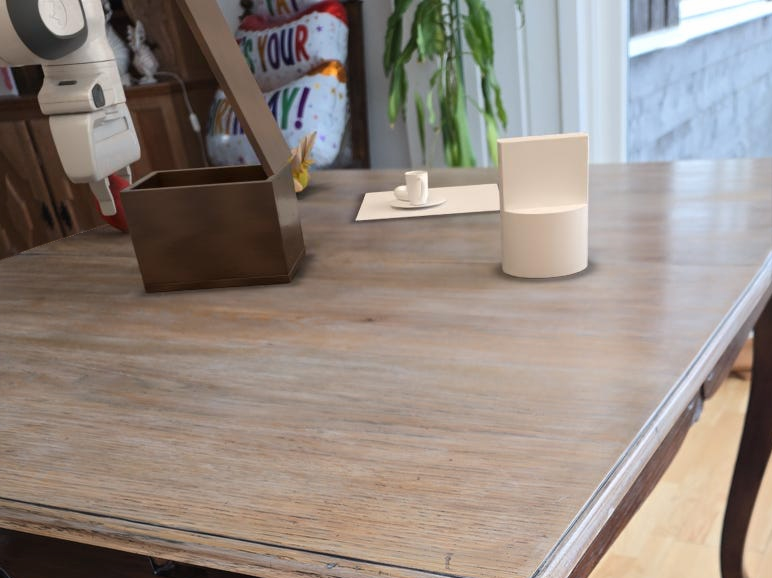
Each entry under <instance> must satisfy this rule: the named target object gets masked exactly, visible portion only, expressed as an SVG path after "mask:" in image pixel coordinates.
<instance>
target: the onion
mask: <svg viewBox="0 0 772 578" xmlns="http://www.w3.org/2000/svg"><path fill="white" fill-rule="evenodd" d="M107 177H108V180H109V184H110V185H109V189H110V191H111V194H112V196H113V198H115V199H116V202H117V207H118V212H117V213H116V214H115V215H109V216H105V215H103V213H102V211H101V208H100V204H99V201H98V200H97V198H96V197H95V195H94V194H93V201H94V207H95V209H96V212H97V214H98V216H99V217H100V218H101V219H102V220H103V221H104V222H105V223H107V224H108V225H109V226H110V227H112V228H113V229H116V230H118V231H119V232H121V233H129V229H128V225H127V221H126V218H125V214H124V210H123V207H122V203H121V199H120V196H119V192H120V191H122V190H123V189H125V188H127V187H128V186H130V185H131V184H130V183H128V182H127V181H126V180H125V179H123V178H121V177H119V176H117V175H116V174H115V173H113V174H111V175H109V176H107Z"/></svg>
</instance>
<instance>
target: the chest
mask: <svg viewBox="0 0 772 578" xmlns="http://www.w3.org/2000/svg"><path fill="white" fill-rule="evenodd" d="M119 196H120V199H121V203H122V207H123V210H124V214H125V218H126V221H127V225H128V229H129V231H128V233H129V235H130V240H131V243H132V247H133V251H134V254H135V258H136V262H137V265H138V269H139V272H140V276H141V280H142V284H143V288H144V292H145V293H160V292H175V291H188V290H189V291H191V290H204V289H218V288H234V287H245V286H246V287H247V286H260V285H261V286H263V285H275V284H290V283H291V282H292V280H293V278H294V276H295V275H296V273H297V271H298V270H299V267H300V265H301V264H302V262H303V260H304V259H305V257H306V255H307V251H306V245H305V240H304V234H303V228H302V223H301V221H302V220H301V216H300V209H299V204H298V197H297V193H296V191H295V185H294V179H293V173H292V167H291V162H286V163H285V164H284V165H283V166H282V167H281V168H280V169H279V170H278V171H277V172H276V173H275V174H274V175H272V176H270V177H267V175H266V173H265V171H264V169H263V167H262V165H261V164H260V163H252V164H239V165H223V166H209V167H197V168H183V169H181V168H180V169H171V170H170V169H169V170H167V169H166V170H154V171H151V172H150V173H148V174H146V175H145V176H143V177H141V178H140V179H138V180H136V181H134V183H133V182H132V185H130V186H128V187H127V188H125V189H123V190H122V191H120V192H119Z"/></svg>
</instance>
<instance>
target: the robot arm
mask: <svg viewBox="0 0 772 578" xmlns="http://www.w3.org/2000/svg"><path fill="white" fill-rule="evenodd" d="M33 65H41V68H42V72H43V75H44V77H43V82H42V86H41V87H40V90H39V92H38V94H37V101H38V104H39V107H40V110H41V113H42V114H43V115H46V116H49V118H48V120H49V121H48V122H49V123H48V124H49V128H50V133H51V136H52V139H53V143H54V145H55V148H56V151H57V154H58V157H59V159H60V162H61V165H62V168H63V170H64V172H65V174H66V176H67V177H68V179H69V180H70V181H71V183H73V184H75V185H77V184H79V185H80V184H88V185H89V188H90V190H91V192H92V193H93V196H94V195H95V197H96V198H97V200H98V201H99V204H100V208H101V211H102V213H103V215H105V216H109V215H115V214H116V213H117V212H118V207H117V202H116V199H115V198H113V196H112V194H111V191H110V189H109V185H110V184H109V180H108V177H107V176H109V175H111V174H113V173H115V174H116V175H117V176H119V177H121V178H123V179H125V180H126V181H127V182H128V183H130V184H131V185H132V184H133V182H132V171H131V167H130V165H132V164H134V163H135V162H138V161H139V160H141V156H142V155H141V147H140V142H139V139H138V136H137V131H136V129H135V125H134V122H133V118H132V116H131V113H130V110H129V108H128V106H127V103H126V102H127V98H126V95H125V91H124V87H123V83H122V78H121V74H120V70H119V67H118V63H117V59H116V56H115V53H114V51H113V49H112V47H111V45H110V43H109V40H108V37H107V32H106V15H105V12H104V8H103V5H102V0H0V69H1V68H2V69H4V68H16V67H18V68H19V67H24V66H33Z"/></svg>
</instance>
